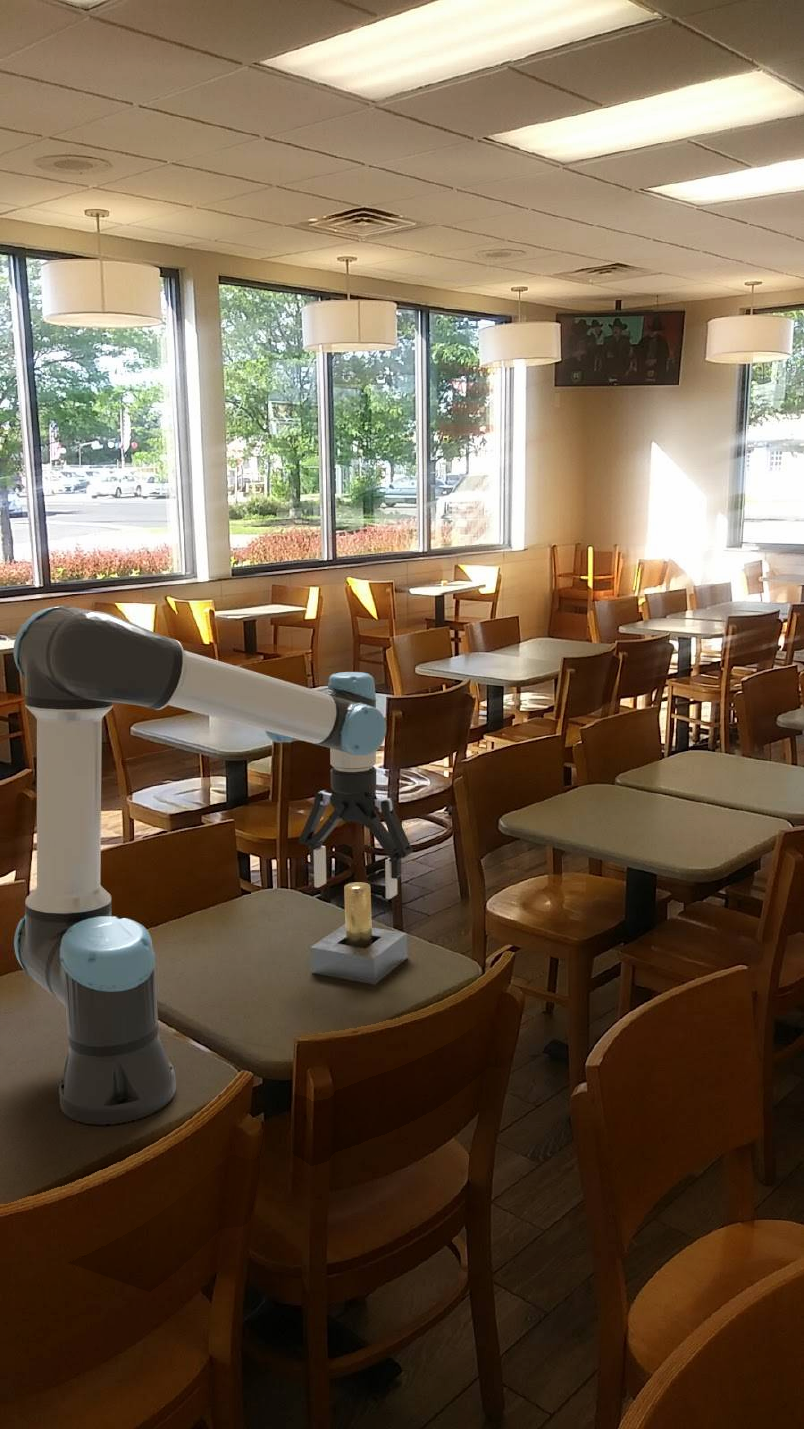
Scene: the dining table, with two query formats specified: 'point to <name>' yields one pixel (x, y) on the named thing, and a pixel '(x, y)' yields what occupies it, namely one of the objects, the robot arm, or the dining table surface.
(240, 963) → the dining table surface
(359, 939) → the brass cylinder rod
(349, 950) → the block
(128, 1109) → the robot arm
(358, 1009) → the dining table surface
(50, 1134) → the dining table surface
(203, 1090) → the dining table surface
